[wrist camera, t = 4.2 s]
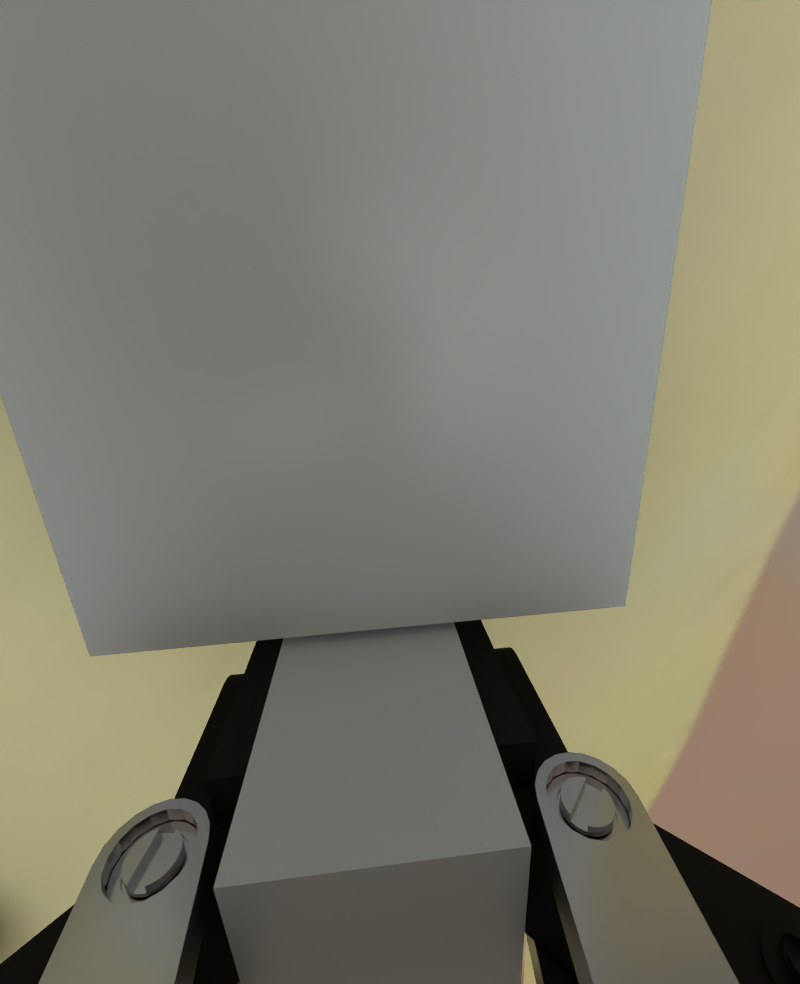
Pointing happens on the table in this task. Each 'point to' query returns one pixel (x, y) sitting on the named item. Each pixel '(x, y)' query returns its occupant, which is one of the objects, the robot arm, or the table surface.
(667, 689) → the table surface
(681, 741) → the table surface
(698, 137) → the table surface
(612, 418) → the lid
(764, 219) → the table surface
